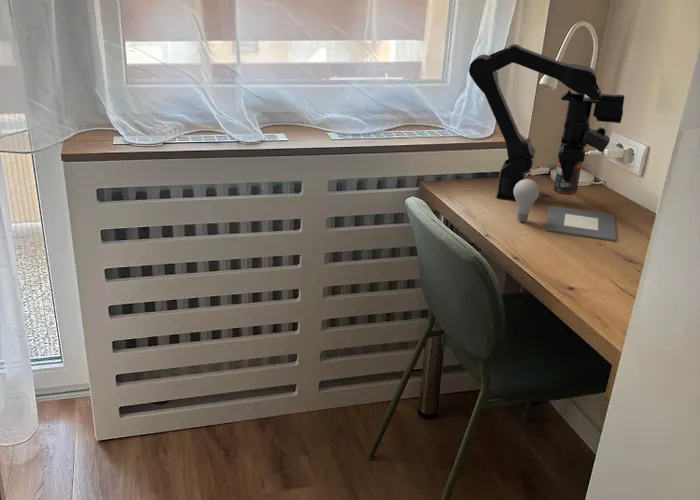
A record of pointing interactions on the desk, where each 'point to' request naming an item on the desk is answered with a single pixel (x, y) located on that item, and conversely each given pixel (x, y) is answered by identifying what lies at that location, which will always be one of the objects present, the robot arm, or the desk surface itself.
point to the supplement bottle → (567, 186)
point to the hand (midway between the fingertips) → (567, 177)
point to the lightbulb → (525, 197)
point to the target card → (581, 223)
